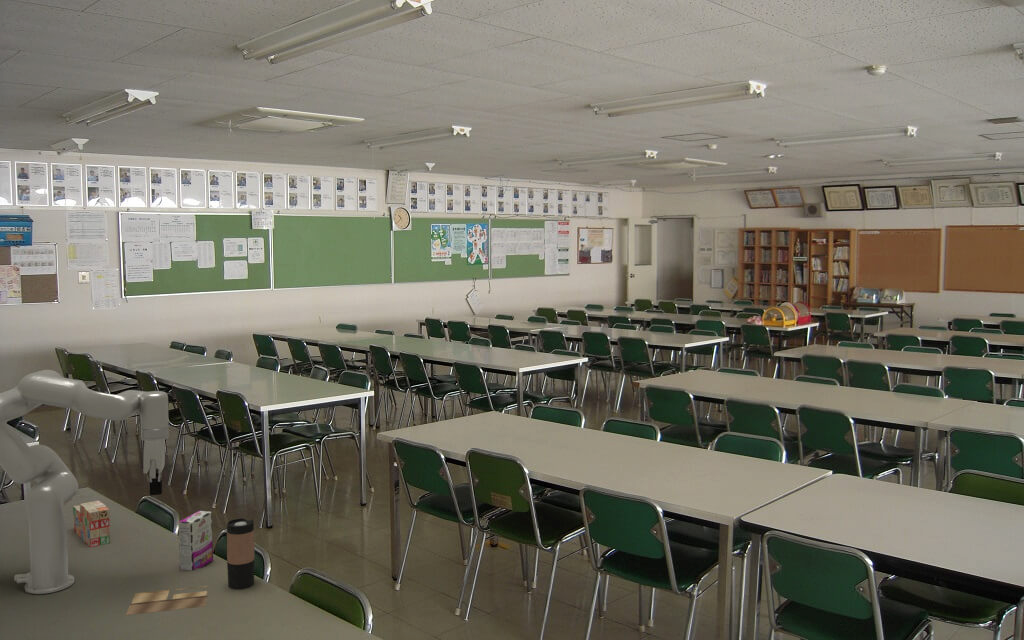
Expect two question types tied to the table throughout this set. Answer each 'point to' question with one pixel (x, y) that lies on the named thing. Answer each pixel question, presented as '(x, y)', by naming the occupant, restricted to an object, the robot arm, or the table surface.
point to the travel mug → (240, 553)
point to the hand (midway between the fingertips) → (156, 494)
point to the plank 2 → (189, 594)
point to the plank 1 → (150, 596)
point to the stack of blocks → (92, 523)
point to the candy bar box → (195, 540)
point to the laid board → (166, 605)
